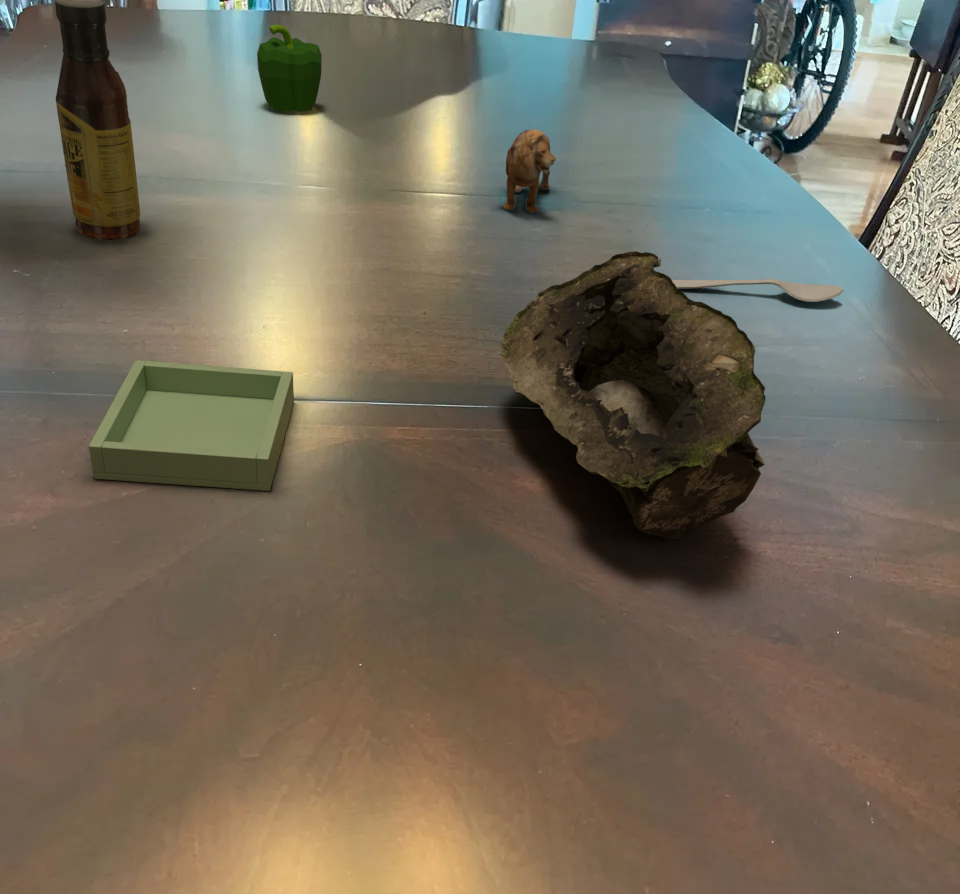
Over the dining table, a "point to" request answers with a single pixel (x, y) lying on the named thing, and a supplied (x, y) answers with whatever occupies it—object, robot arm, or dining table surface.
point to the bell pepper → (289, 72)
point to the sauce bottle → (95, 127)
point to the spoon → (793, 289)
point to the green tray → (195, 426)
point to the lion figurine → (528, 167)
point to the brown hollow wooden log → (644, 390)
